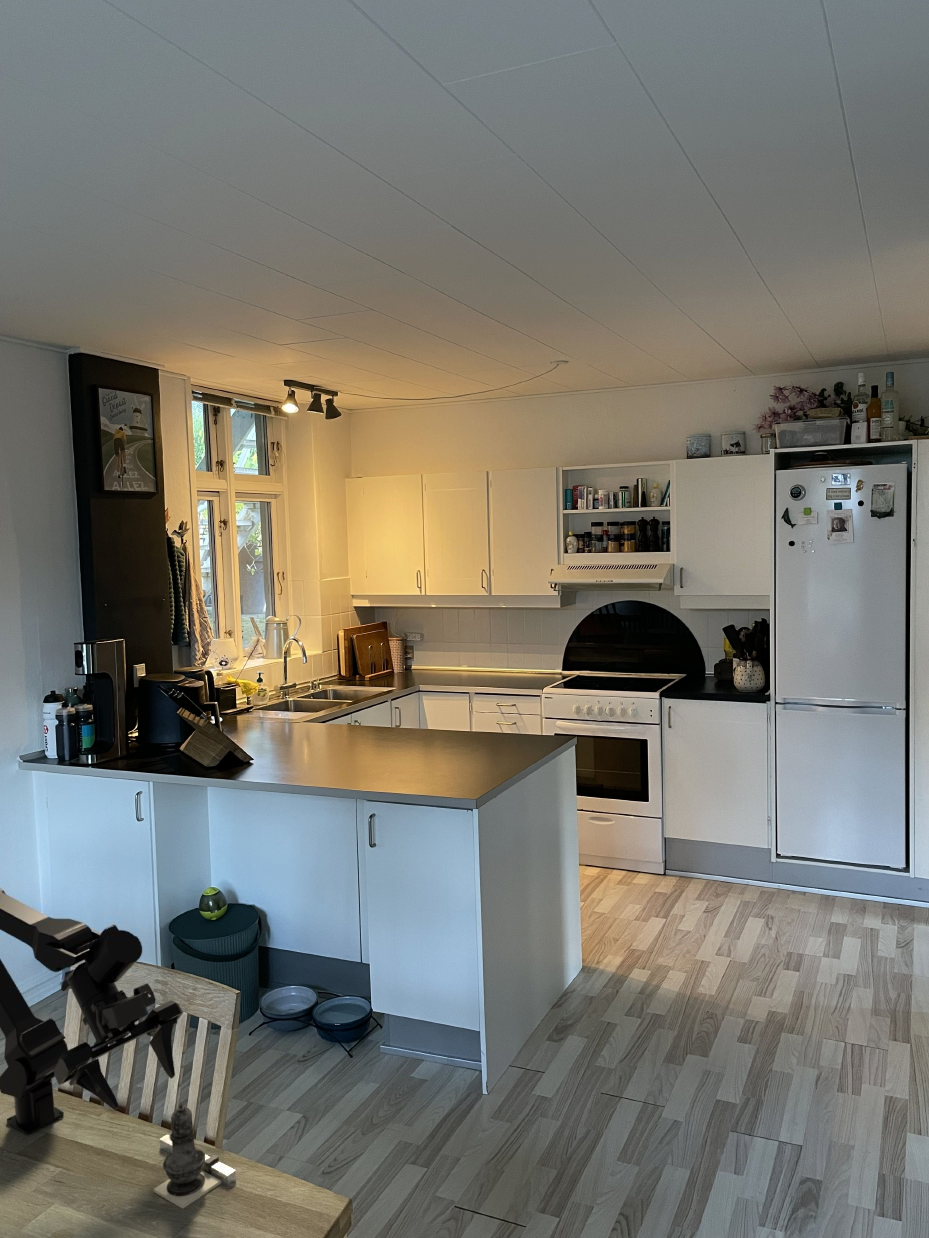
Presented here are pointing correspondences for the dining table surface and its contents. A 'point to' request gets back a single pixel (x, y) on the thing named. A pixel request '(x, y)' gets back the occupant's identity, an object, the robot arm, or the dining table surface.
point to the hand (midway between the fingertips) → (145, 1092)
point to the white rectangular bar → (206, 1163)
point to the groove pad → (186, 1200)
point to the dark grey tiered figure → (184, 1156)
